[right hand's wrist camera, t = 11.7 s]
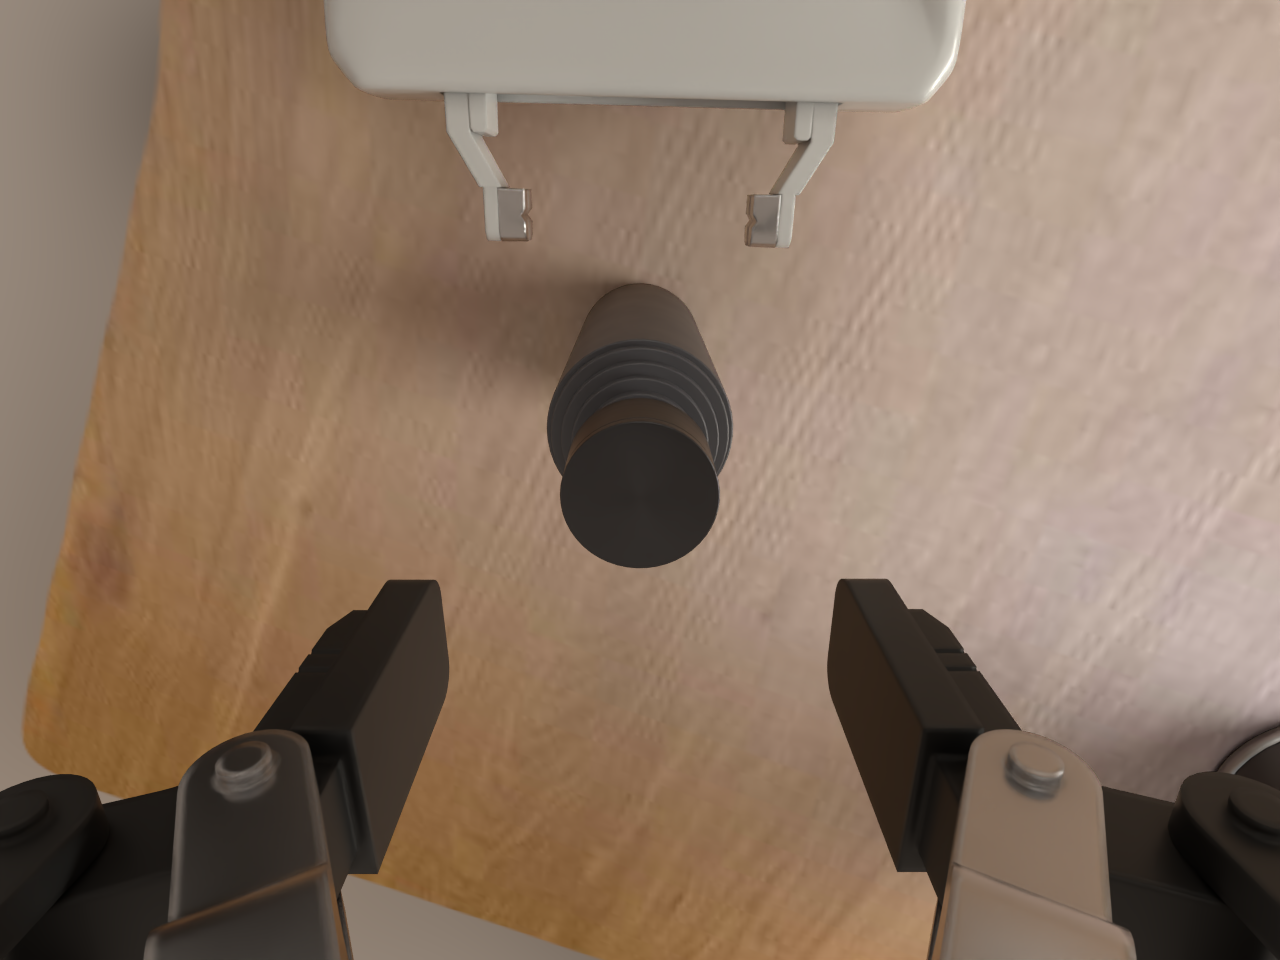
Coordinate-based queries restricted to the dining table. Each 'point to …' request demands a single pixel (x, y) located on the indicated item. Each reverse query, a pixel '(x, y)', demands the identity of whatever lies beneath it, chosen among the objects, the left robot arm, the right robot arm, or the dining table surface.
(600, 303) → the bottle
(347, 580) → the dining table surface
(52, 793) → the right robot arm
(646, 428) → the cap
